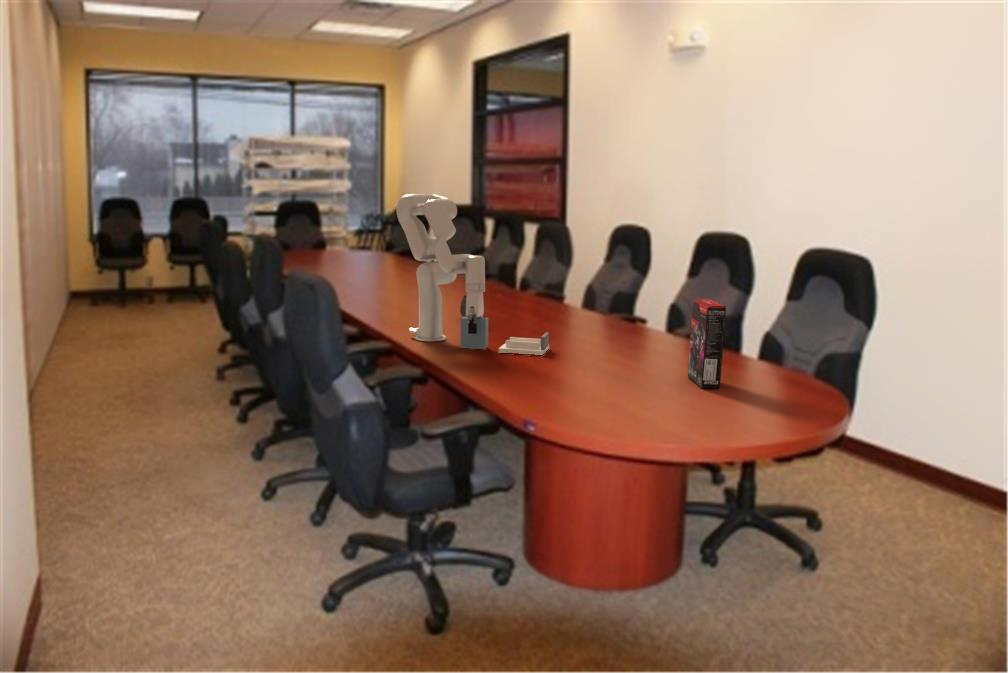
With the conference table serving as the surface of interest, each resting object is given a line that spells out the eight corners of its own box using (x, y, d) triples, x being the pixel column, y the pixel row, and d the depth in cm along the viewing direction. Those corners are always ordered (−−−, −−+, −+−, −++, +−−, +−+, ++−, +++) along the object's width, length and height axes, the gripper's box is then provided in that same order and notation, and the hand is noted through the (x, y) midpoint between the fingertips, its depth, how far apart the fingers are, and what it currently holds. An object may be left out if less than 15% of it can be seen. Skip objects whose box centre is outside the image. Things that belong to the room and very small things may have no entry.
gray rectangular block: (460, 348, 346) (460, 318, 344) (463, 346, 350) (463, 316, 348) (485, 350, 344) (485, 319, 342) (487, 348, 348) (488, 317, 346)
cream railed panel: (498, 353, 338) (499, 335, 337) (506, 346, 351) (507, 329, 350) (542, 356, 334) (543, 338, 333) (549, 349, 348) (549, 331, 346)
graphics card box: (686, 377, 303) (690, 298, 298) (706, 377, 304) (710, 298, 299) (701, 389, 287) (706, 305, 282) (722, 389, 287) (727, 306, 282)
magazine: (485, 309, 389) (469, 281, 414) (477, 309, 388) (462, 281, 413) (481, 343, 396) (466, 314, 422) (474, 344, 395) (459, 314, 421)
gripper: (471, 285, 352) (472, 328, 355) (459, 289, 335) (460, 334, 338) (490, 285, 350) (490, 328, 353) (479, 290, 334) (479, 335, 336)
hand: (475, 331), depth 346 cm, fingers open, 9 cm apart
